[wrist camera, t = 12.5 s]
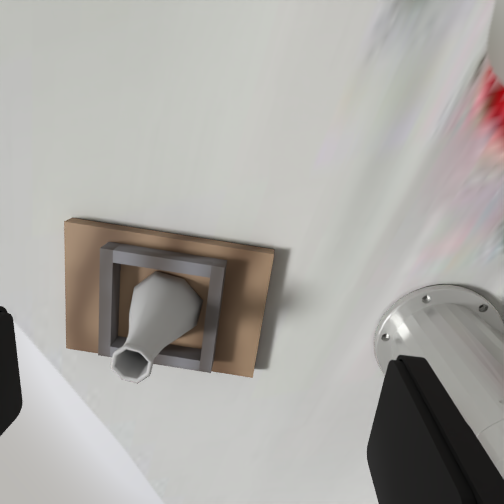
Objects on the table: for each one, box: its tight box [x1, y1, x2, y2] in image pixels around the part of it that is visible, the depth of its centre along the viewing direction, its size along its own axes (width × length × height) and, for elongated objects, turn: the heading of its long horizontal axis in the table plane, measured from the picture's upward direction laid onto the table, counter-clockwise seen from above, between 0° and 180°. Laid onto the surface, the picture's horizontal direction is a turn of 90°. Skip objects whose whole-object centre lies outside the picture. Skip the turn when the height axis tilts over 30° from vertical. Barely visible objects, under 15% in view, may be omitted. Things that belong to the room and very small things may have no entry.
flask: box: [110, 271, 203, 384], centre depth 34 cm, size 7×7×10 cm
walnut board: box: [64, 218, 274, 378], centre depth 38 cm, size 20×14×4 cm
